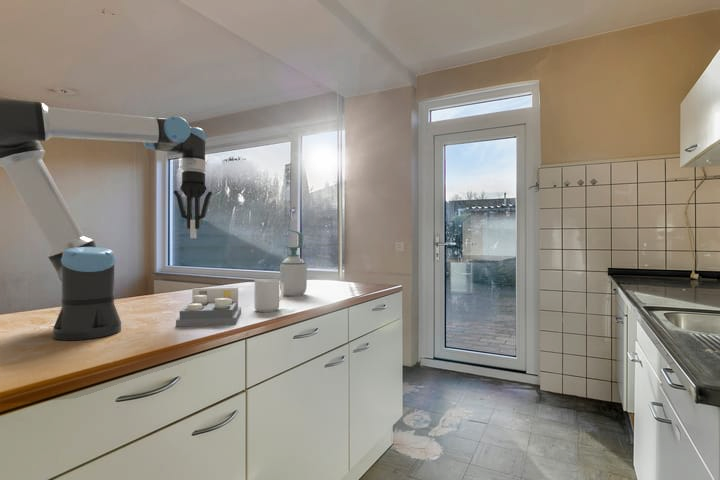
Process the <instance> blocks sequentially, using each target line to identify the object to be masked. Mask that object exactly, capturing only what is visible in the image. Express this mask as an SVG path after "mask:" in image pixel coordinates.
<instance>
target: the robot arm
mask: <svg viewBox="0 0 720 480" xmlns="http://www.w3.org/2000/svg"><path fill="white" fill-rule="evenodd" d="M51 138H57V139H58V138H59V139H62V138H63V139H77V140H78V139H79V140H80V139H81V140H93V141H95V140H96V141H99V140H100V141H112V142H113V141H114V142H115V141H116V142H132V143H134V142H135V143H143V146H144V148H146V149H149V150H153V151H161V152H167V153H176V154H181V157H182V158H181V159H182V160H181V169H182V172H181V185H180V188H179V189H177V190H174V191H173V194H174V195H175V197H176V200H177V203H178V207H179V212H180V216H181V218H184V219H185V220H186V228H187V229H188V230H189V229H190V231H189V237H190V239H197V230H200V228H201V227H200V225H201V223H200V221H201V220H202V219H205V218H206V215H207V212H208V208H209V204H210V201H211V198H212V197H213V196H214V193H213V192H211V191H210V190H208V189H207V186H206V174H205V172H206V144H207V141H206V131H204V129H202V128H201V127H198V126H197V127H196V126H190V124H189V122H188V120H186V119H185V118H183V117H181V116H178V115H177V116H176V115H175V116H173V115H172V116H170V117H167V118H166V117H165V118H163V117H152V116H151V117H150V116H142V115H133V114H132V115H131V114H121V113H112V112H110V113H109V112H103V111H102V112H101V111H93V110H92V111H91V110H83V109H82V110H80V109H71V108H61V107H53V106H52V107H50V106H47V105H46V104H45V103H43V102H41V101H32V100H23V99H16V98H15V99H14V98H7V97H6V98H5V97H4V98H3V97H0V168H3V169H4V171H5V172H6V174H7V176H8V178H9V179H10V181H11V183H12V185H13V186H14V188H15V189H16V191H17V192H18V195H19V196H20V199H22V202H23V204H24V205H25V207H26V208H27V210H28V212H29V213H30V216H31V217H32V218H33V220H34V222H35V224H36V225H37V227H38V229H39V231H40V232H41V235H42V236H43V237H44V240H45V242H47V245H48V246H49V252H48V253H47V258H48V259H49V261H50V263H51V264H52V267H53V268H54V270H55V272H56V274H57V276H58V278H59V280H60V281H61V308H60V310H59V313H58V315H57V318H56V321H55V324H54V326H53V327H52V338H53V339H54V340H59V341H79V340H80V341H81V340H89V339H97V338H103V337H106V336H110V335H114V334H117V333H119V332H121V331H122V321H121V318H120V315H119V313H118V309H117V308H116V305H115V264H116V259H115V253H114V252H115V251H113V250H111V249H110V248H106V247H98V246H97V245H96V243H95V241H94V239H92V238H89V237H87V236H85V235H84V233H83V232H82V229H81V228H80V226H79V224H78V222H77V221H76V219H75V217H74V216H73V213H72V211H71V210H70V208H69V206H68V204H67V203H66V201H65V199H64V197H63V195H62V194H61V192H60V189H59V188H58V186H57V184H56V183H55V180H54V179H53V177H52V175H51V173H50V171H49V169H48V168H47V166H46V164H45V162H44V161H43V158H44V156H45V154H46V150H45V149H44V147H43V146H42V143H41V142H42V141H43V142H47V141H49V139H51ZM183 194H184V195H185V196H186V208H185V205H184V204H185V203H184V199H183V197H182V195H183ZM203 195H204V196H205V197H204V200H203V204H202V208H201V198H202V196H203ZM193 200H194V219H193Z"/></svg>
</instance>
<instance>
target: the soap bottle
mask: <svg viewBox="0 0 720 480" xmlns="http://www.w3.org/2000/svg"><path fill="white" fill-rule="evenodd" d="M288 231H291V232H293V233H296V234H297V236H298V237H297V238H298V240H297V241H298V244H297V246H287V247H286V249H289V251H290V253H291V254H288V255H287V258H285V259H283V261H282V262H280V266H279V283H284V295H283V296H285V295H286V296H285V297H301V296H303V295H304V294H305V293H306V291H307V283H308V281H307V280H308V279H307V274H308V273H307V269H308V268H307V267H308V265H307V262H306V261H304V259H302V258H301V257H300V254H296V253H297V252H296V251H298V249H300V248H302V247H303V233H302V232H301V231H298V230H297V229H296V230H295V229H291V228H288ZM279 291H281V284H279ZM300 295H301V296H300Z"/></svg>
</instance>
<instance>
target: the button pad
mask: <svg viewBox="0 0 720 480" xmlns="http://www.w3.org/2000/svg"><path fill="white" fill-rule="evenodd" d="M191 290H192V291H191V292H192V293H191V295H192V297H191V298H192V299H191V301H192V302H190V303H189V304H193V296H195V295H207V305H204V306H202V310H187V305H186V306H185V307H183V308H182V309H181V310H179V317H178V318H176V319H175V327H193V326H194V327H195V326H197V327H198V326H200V327H201V326H218V325H221V326H222V325H236V324H237V322H238V320H239V318H240V316H241V314H242V307H241V306H239V287H208V288H207V287H202V288H201V287H200V288H199V287H198V288H197V287H196V288H192V289H191ZM217 298H229V299H232V305H229V309H215V299H217Z"/></svg>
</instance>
